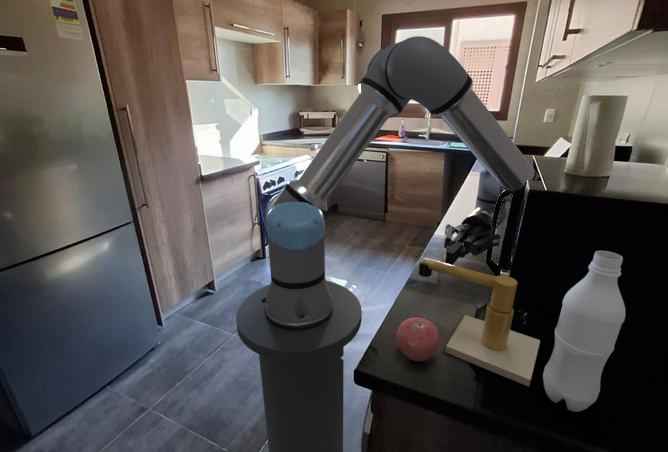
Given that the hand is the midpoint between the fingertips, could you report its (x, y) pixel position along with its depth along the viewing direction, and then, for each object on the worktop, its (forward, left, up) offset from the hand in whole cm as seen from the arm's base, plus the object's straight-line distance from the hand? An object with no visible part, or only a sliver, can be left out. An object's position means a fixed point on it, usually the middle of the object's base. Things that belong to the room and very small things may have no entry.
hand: (449, 258), depth 70 cm
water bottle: (+23, -10, -14) cm, 29 cm away
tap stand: (+11, -5, -14) cm, 19 cm away
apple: (0, -15, -14) cm, 21 cm away
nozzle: (+4, -5, -4) cm, 8 cm away
